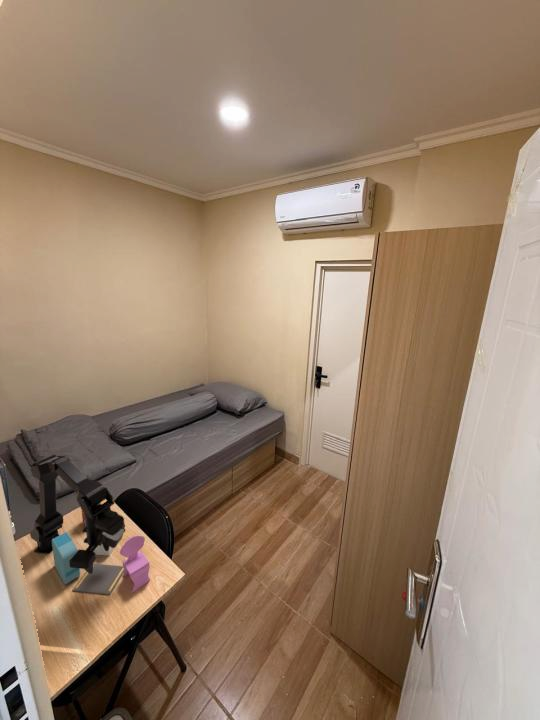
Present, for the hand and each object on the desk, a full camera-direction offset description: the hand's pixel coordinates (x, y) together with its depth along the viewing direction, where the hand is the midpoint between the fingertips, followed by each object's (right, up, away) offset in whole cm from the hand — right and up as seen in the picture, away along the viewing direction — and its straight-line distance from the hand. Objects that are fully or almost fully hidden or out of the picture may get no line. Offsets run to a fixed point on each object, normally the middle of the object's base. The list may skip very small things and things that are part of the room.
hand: (99, 561), depth 98 cm
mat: (0, -7, +1) cm, 7 cm away
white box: (-5, -4, +14) cm, 16 cm away
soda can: (-18, -2, +26) cm, 32 cm away
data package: (-14, -6, +4) cm, 15 cm away
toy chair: (+12, -8, +2) cm, 14 cm away
